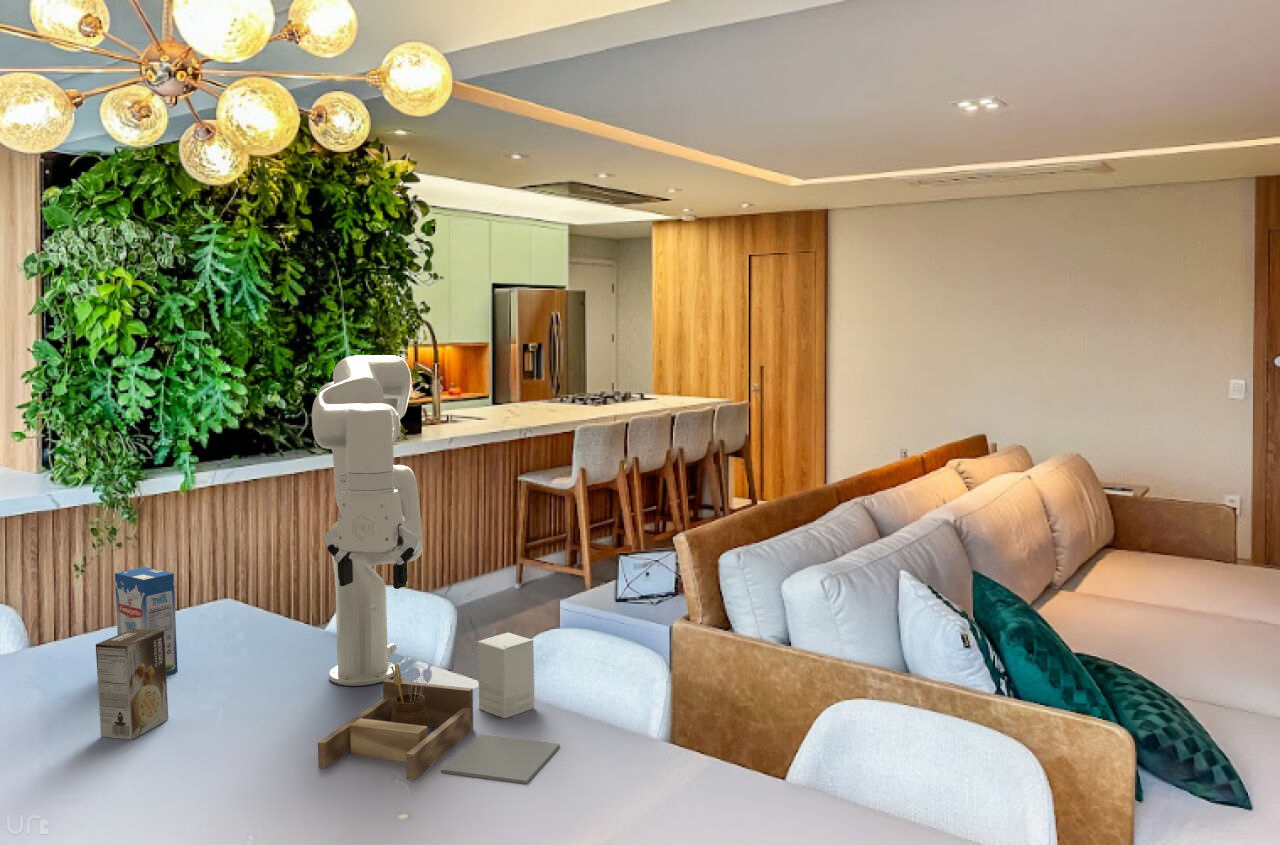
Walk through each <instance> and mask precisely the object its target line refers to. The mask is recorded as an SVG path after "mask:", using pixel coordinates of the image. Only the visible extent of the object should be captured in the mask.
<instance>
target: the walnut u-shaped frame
mask: <svg viewBox="0 0 1280 845" xmlns="http://www.w3.org/2000/svg"><path fill="white" fill-rule="evenodd" d="M416 682H417V681H416ZM416 682H415V681H414V682H413V681H411V682H410V681H407V680H402V683H401V685H400V687H401V692H402V694H407V693H418V694H419V693H420V694H422V695H424V697H425V700H426V704H425V707H426V708H427V711H428V727H432V728H433V727H434V728H436V729H435V730H434V731H432V732H431V733H430V734H428V736H427V737H426V738H425V739H424V740H422V741H421V742H420V743H419V744H417V745H416V746H415V747H414V748H412V749H411V750H410V751H409V752H407V753H406V762H405V764H406V765H405V766H406V767H405V769H406V771H405V773H406V780H409V781H415V780H416V779H417V778H418V777H419V776H421V774H423V773H424V772H425V771H426V770H427V769H428V768H430V767H431V766H432V765H434V763H435V762H437V760H439V759H440V758H441V757H442V756H443V755H444V754H446V753H447V752H448V751H449V750H451V749H452V747H454V746H455V745H456V744H457V743H458V742H460V741H461V740H462V739H463V738H464V737H465V736H466V735H467V734H469V733H470V732H471V731H472V730H473V729H474V694H473V692H474V688H470V687H463V686H451V685H443V684H437V683H436V684H435V683H425V682H422V685H421V682H417V684H416ZM411 683H413V684H411ZM409 684H410V686H409ZM423 685H424V688H423ZM411 687H412V689H411ZM421 687H422V690H421ZM416 688H417V690H416V692H415V689H416ZM420 690H421V691H420ZM422 692H423V693H422ZM382 694H383V695H382V696H383V698H381V699H380V700H379V701H377V702H375V703H374V704H372V705H371V706H369V707H368V708H367V709H365V710H364V711H362V712H361V713H360V714H358V715H356V716H355V717H353V718H351V719H350V720H349V721H347V722H346V723H344V724H342V725H341V726H340V727H338V728H337V729H335V730H334V731H332V732H331V733H329V734H328V735H326V736H324V737H323V738H322V739H320V740H319V741H317V756H318V757H317V759H318V761H317V763H318V768H323V769H327V767H329V766H330V765H333V763H334V762H336V761H337V760H339V759H340V758H342V756H343V757H344V756H345V755H346V754H347V753H348V752H349V751H350V752H351V735H350V725H351V724H353V723H354V722H356V721H357V720H359V719H360V718H361V719H370V720H378V721H387V722H391V717H392V711H393V709H394V706H393V702H394V699H395V698H396V697H397V696H399V695H400V694H399V689H398V686H397V685H395V684H394V679H391V678H390V679H386V680H384V681H383V682H382Z"/></svg>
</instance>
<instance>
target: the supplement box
mask: <svg viewBox="0 0 1280 845" xmlns="http://www.w3.org/2000/svg"><path fill="white" fill-rule="evenodd" d="M534 653H535V652H534V639H531V638H528V637H524V636H520V635H518V634H514V633H511V632H505V633H504V632H503V633H501V634H497V635H494V636H491V637H487V638H484V639H481V640H478V641H477V666H478V667H477V670H478V672H477V673H478V674H477V676H478V709H479V710H481V711H484V712H486V713H489V714H492V715H493V716H497V717H499V718H502V719H508V718H510V717H513V716H516V715H518V714H521V713H524V712H527V711H531V710H533V709H534V708H535V671H534V670H535V667H534V666H535V663H534V661H535V660H534V659H535V658H534Z"/></svg>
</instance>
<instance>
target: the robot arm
mask: <svg viewBox="0 0 1280 845" xmlns="http://www.w3.org/2000/svg"><path fill="white" fill-rule="evenodd" d="M411 373H412V372H411V370H410V368H409V365H408V363H407V361H405V359H403V357H400V356H397V355H351V356H348V357H344V358H343V359H341V360H339V362H338V363H337V364H336V365H335V367H334V369H333V372H332V380H333V381H331V382H327V383H326V384H324V385H322V386H321V387H320V388H319V390H318V393H317V395H316V397H315V399H314V401H313V404H312V409H311V410H312V411H311V425H312V426H311V427H312V428H311V429H312V434H313V436H314V441H315V442H316V443H317V445H318V446H320V447H321V448H324V449H329V450H331V452H332V463H333V465H332V466H333V481H334V495H335V502H336V504H337V508H338V513H337V521H336V522H335V523H334V524H333V525H331V528H330V530H328V531H327V532H325V533H323V534H322V535H321V536H322V539H323V541H324V544H325V546H326V547H327V551H328V552H329V553H330V554H331V558H332V565H333V573H334V584H335V585H334V586H335V587H334V588H335V615H336V616H335V617H336V622H335V624H336V651H337V652H336V653H337V654H336V656H337V657H336V658H337V665H336V666H334V667H333V668H331V670H330V671H329V680H330V681H331V682H333V683H335V684H336V683H337V685H342V686H348V687H349V686H351V687H357V686H358V687H361V686H362V687H363V686H370V685H375V684H379V683H383V681H384V680H386V679H390V680H391V679H392V678H393V673H392V666H393V668H394V666H395V665H396V664H394V663H393V662H390V661H389V657H390V655H392V654H393V653H395V652H396V651H397V649H398V648H397V645H396V644H395V643H392V642H391V643H389V644H388V621H387V620H388V614H387V611H388V610H387V609H388V606H387V587H386V584H385V581H384V579H383V578H382V577H381V576H380V575H379V574H378V573H377V571H375V570H374V568H372V567H373V566H377V565H378V566H379V565H386V564H394V565H392V579H393V580H392V581H393V589H395V590H399V589H401V588H403V587H405V586H406V585H407V582H408V578H409V576H408V572H409V571H408V570H409V569H408V563H410V562H413V561H415V560H418V558H419V557H420V556H421V555H422V552H423V546H424V544H423V542H424V541H423V540H424V539H423V528H422V519H421V508H420V500H419V499H420V498H419V490H418V489H419V488H418V484H417V483H418V482H417V479H416V476H415V473H414V471H413V470H412V469H411V468H410V467H408V466H405V465H402V464H397V465H395V464H394V463H395V462H394V461H395V460H394V456H395V455H394V443H395V442H396V440H397V438H399V437H400V434H401V419H402V418H403V417H404V416H405V414H406V412H407V408H408V403H409V399H410V396H411V395H410V394H411V390H412V374H411ZM394 673H395V668H394ZM395 675H396V673H395Z"/></svg>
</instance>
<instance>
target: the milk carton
mask: <svg viewBox="0 0 1280 845" xmlns="http://www.w3.org/2000/svg"><path fill="white" fill-rule="evenodd" d="M174 575H175V574H174V573H173V572H168V571H165V570H161V569H156V568H151V567H146V566H144V567H138V568H135V569H130V570H129V569H128V570H125V571H120V572H114V583H115V584H114V585H115V586H114V587H115V605H116V606H115V607H116V609H115V610H116V629H117V631H116V632H117V635H119V634H122V633H124V632H127V631H129V630H131V629H146V630H164V644H165V663H166V677H167V676H169V675H173V674H176V673H178V672H179V671H178V648H177V646H178V645H177V644H178V643H177V625H176V624H177V622H176V621H177V620H176V600H175V598H176V596H175V576H174Z"/></svg>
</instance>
